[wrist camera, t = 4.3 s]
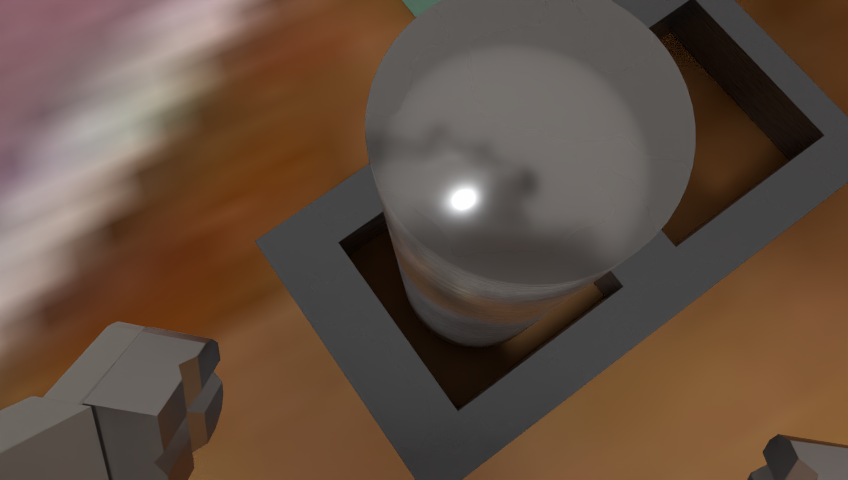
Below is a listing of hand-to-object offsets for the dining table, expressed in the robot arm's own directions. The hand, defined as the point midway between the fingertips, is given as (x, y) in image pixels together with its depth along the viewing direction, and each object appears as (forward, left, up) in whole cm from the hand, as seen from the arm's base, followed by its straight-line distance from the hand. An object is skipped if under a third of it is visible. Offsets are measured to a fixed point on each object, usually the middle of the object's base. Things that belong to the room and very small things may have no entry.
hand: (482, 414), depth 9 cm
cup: (-3, +3, -10) cm, 11 cm away
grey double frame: (-3, +6, -10) cm, 13 cm away
